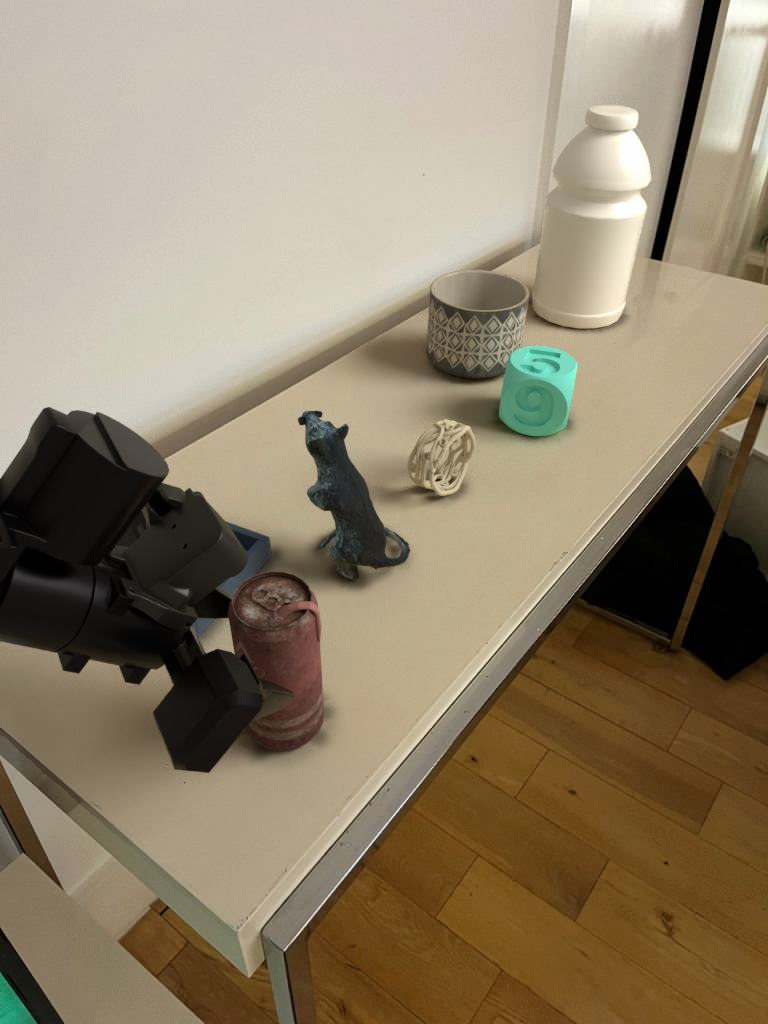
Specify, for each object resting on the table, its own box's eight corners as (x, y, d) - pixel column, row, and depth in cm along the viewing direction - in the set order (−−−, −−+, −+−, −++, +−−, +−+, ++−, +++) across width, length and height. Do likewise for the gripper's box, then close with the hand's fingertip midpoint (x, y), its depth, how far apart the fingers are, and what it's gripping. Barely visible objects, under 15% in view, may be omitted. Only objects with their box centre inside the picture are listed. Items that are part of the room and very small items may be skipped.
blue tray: (193, 644, 67) (189, 624, 66) (81, 596, 72) (75, 577, 70) (271, 555, 76) (269, 536, 75) (168, 517, 80) (164, 499, 79)
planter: (506, 393, 100) (516, 318, 94) (413, 374, 104) (417, 300, 97) (527, 349, 109) (538, 278, 103) (441, 333, 113) (446, 263, 106)
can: (324, 755, 59) (317, 633, 50) (241, 753, 59) (219, 630, 50) (330, 690, 64) (324, 567, 55) (252, 688, 64) (234, 565, 55)
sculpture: (343, 511, 82) (340, 386, 72) (425, 556, 76) (433, 429, 67) (287, 552, 77) (275, 425, 67) (370, 604, 71) (370, 474, 62)
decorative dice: (568, 407, 98) (580, 350, 93) (563, 441, 92) (574, 382, 87) (505, 397, 99) (513, 340, 94) (496, 431, 93) (503, 372, 88)
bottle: (523, 322, 116) (552, 117, 98) (536, 285, 126) (565, 93, 108) (619, 336, 113) (667, 127, 95) (625, 297, 123) (670, 102, 105)
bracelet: (476, 476, 87) (483, 415, 81) (434, 511, 82) (439, 449, 77) (447, 462, 88) (452, 402, 83) (404, 496, 84) (407, 434, 79)
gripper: (204, 600, 36) (401, 660, 48) (101, 411, 49) (277, 494, 60) (73, 768, 38) (292, 787, 50) (6, 545, 51) (194, 601, 62)
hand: (263, 652), depth 55 cm, fingers open, 9 cm apart
